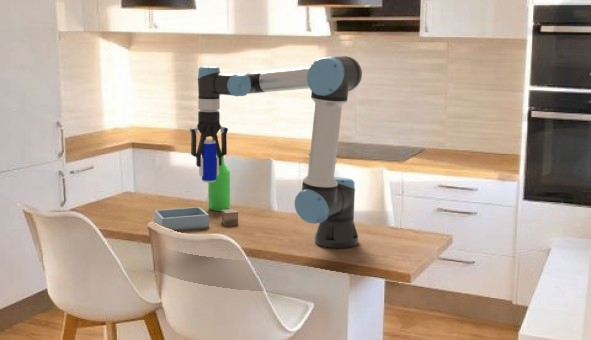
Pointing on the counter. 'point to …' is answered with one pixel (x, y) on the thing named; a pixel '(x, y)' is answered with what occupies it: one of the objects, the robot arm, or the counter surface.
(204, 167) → the beverage can
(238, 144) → the counter surface
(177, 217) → the box
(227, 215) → the walnut cube
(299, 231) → the counter surface
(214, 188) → the bottle
